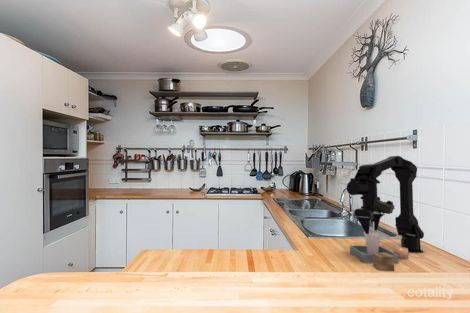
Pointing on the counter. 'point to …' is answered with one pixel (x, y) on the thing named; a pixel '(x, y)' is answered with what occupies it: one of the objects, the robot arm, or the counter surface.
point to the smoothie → (372, 241)
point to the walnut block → (383, 261)
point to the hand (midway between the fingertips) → (371, 232)
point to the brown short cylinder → (401, 252)
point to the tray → (363, 256)
